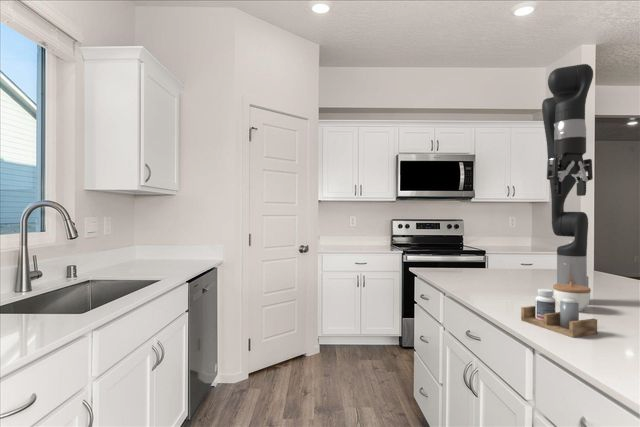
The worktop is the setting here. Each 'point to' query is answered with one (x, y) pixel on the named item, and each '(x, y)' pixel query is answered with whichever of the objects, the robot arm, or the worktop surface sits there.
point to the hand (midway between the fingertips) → (569, 195)
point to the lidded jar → (572, 293)
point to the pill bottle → (544, 303)
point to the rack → (553, 323)
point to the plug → (568, 311)
